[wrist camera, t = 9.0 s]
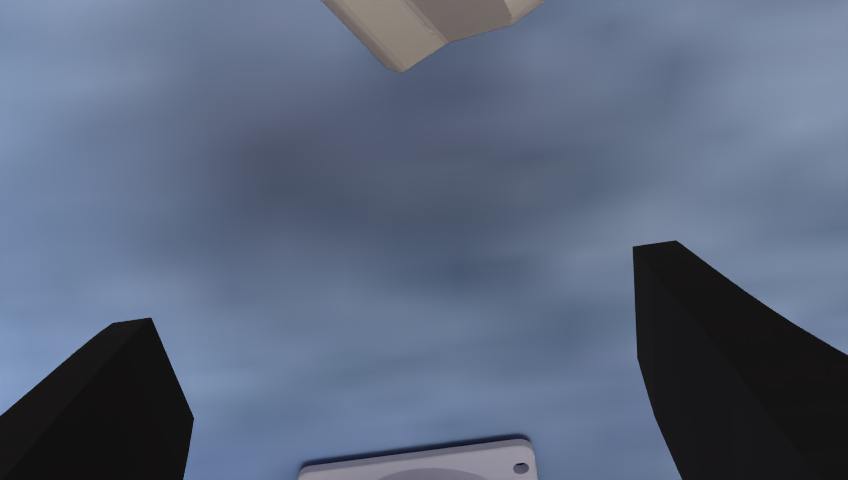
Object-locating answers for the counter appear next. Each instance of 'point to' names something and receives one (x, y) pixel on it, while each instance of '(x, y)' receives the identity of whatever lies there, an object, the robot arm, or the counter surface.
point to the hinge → (422, 24)
